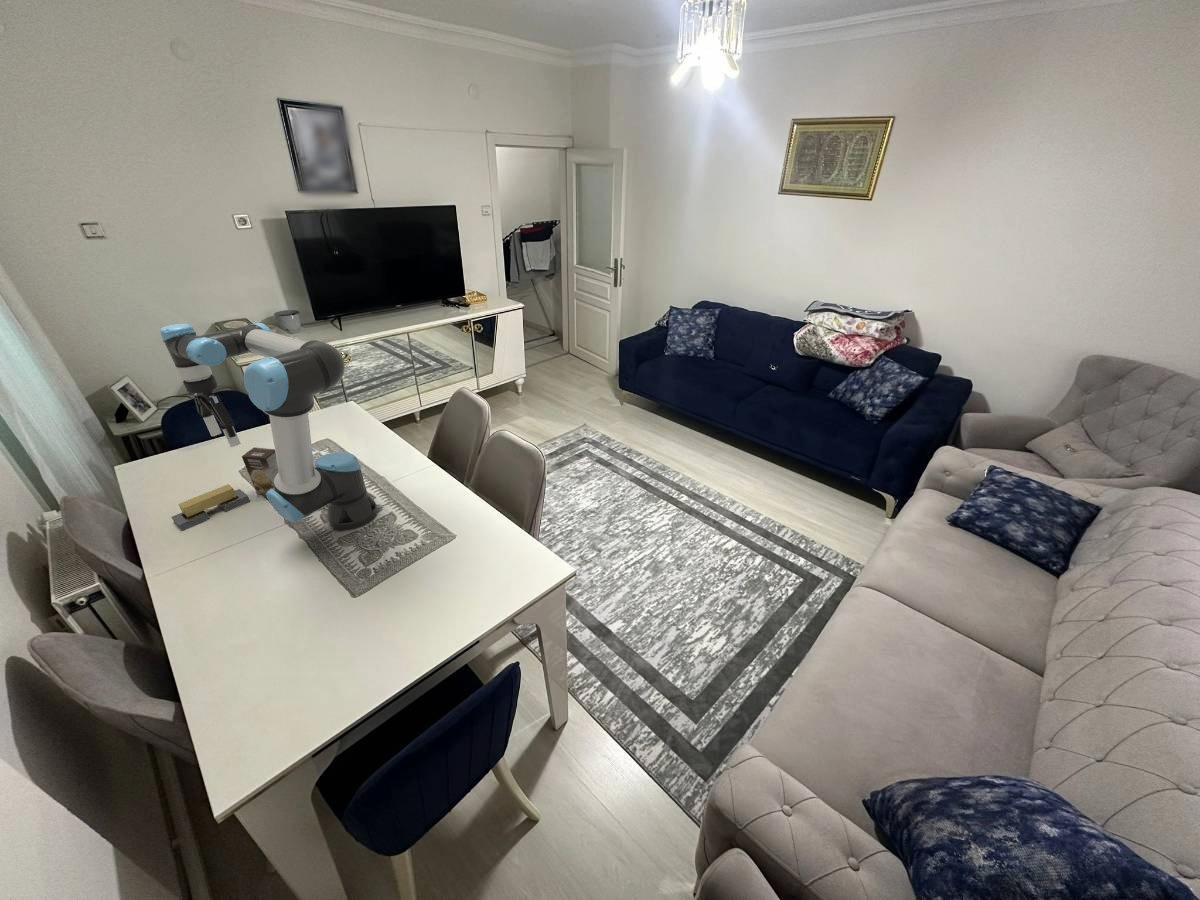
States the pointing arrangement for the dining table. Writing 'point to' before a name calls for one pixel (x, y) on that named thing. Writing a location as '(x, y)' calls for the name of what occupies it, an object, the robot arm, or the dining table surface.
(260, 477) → the coffee box
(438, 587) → the dining table surface
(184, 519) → the silver square rings
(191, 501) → the tall gold block
